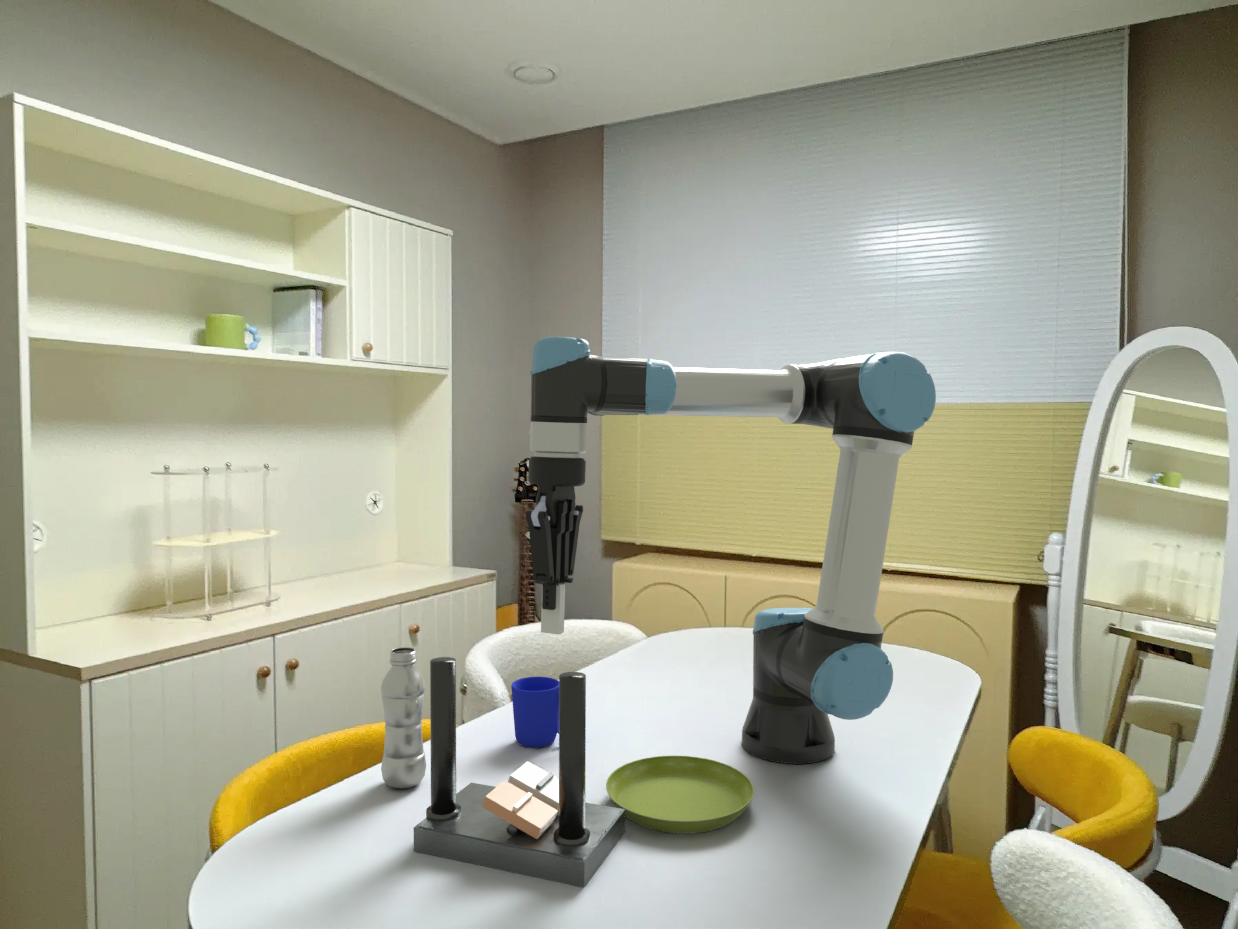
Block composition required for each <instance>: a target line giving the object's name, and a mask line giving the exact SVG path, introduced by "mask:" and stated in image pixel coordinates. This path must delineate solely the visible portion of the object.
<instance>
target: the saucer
mask: <svg viewBox="0 0 1238 929" xmlns="http://www.w3.org/2000/svg"><path fill="white" fill-rule="evenodd" d="M605 788H606V792H607V794H608V796H609V798H610V800H611V802H612V803H613V804H614V805H615V808H621V809H625V817H626V818H628V819H629V820H631V821H632V822H634V823H636V824H637V825H639V826H642V827H644V828H647V829H649V830H653V831H658V832H663V833H668V834H681V835H682V834H687V835H688V834H699V833H705V832H710V831H714V830H716V829H719V828H723V827H724V826H726V825H728V824H730V823H732V822H733V821H734V820H736V819H737V818H738V817H740V815H741V814H743V812H744V811H745V810H746V809H747V808H748V806H749V805H750V803H751V802H752V801H753V800H752V799H753V798H754V796H755V788H754V784H753V782H752V781H751V780H750V778H749V777H748V776H747V775H746V774H745V773H743V772H742V771H740V770H738V769H737V768H735V767H733V766H731V765H730V764H729V765H728V764H726V763H724V762H722V761H721V762H720V761H717V760H714V759H709V758H706V757H704V758H703V757H699V756H690V755H658V756H657V755H656V756H651V757H645V758H640V759H636V760H633V761H630V762H627V763H625V764H622V765H621V766H619V767H618V768H616V769H615V770H613V771H612V772H611V773H610V775H609V776H608V777H607V779H606V783H605Z"/></svg>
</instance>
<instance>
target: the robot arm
mask: <svg viewBox="0 0 1238 929" xmlns="http://www.w3.org/2000/svg"><path fill="white" fill-rule="evenodd" d="M591 353H592V352H591V349H590V344H589V341H587V340H586V339H584V338H581V337H580V338H579V337H578V338H577V337H574V336H573V337H572V336H569V337H568V336H545V337H541V338H540V339H537V341H535V343H534V344H533V350H532V359H531V360H532V362H531V370H530V375H531V379H530V384H531V385H530V387H531V388H530V424H529V425H530V429H528V433H527V434H528V435H529V451H530V452H531V453H533V456H530V458H529V459H528V478H527V479H528V483H529V484H531V485H534V486H536V487H538V489H537V494H536V497H535V504H536V506H535V507H534V510H531V509H529V510H527V511H526V512H525V519H526V522H527V527H528V529H529V540H530V543H529V544H530V553H531V554H530V555H531V565H532V576H533V582H534V584H538V585H539V584H540V585H541V609H540V610H541V614H540V615H541V616H540V633H543V634H544V633H545V634H552V635H561V634H563V633H565V612H566V610H565V609H566V608H565V607H566V584H567V583H568V584H572V583H573V580H574V578H573V575H574V573H575V571H574V570H575V564H576V556H577V555H576V554H577V549H578V547H577V546H578V540H579V533H580V532H579V531H580V526H581V525H580V524H581V520H582V517H583V512H584V507H583V506H584V505H581V504H576V498H577V497H576V492H575V490H576V489H575V487H582V486H584V485H585V483H586V470H587V469H586V468H587V467H586V466H587V465H586V464H587V463H586V462H587V460H585V458H584V457H583V455H584V454H586V453H587V450H588V448H587V447H588V445H587V443H588V442H587V440H588V414H590V415H592V416H596V417H598V416H600V417H601V416H674V417H675V416H680V417H682V416H683V417H690V416H691V417H732V418H734V417H738V418H739V417H740V418H741V417H743V418H747V417H748V418H778V419H779V420H780V421H781V422H782V423H784V424H787V425H791V424H793V425H795V424H796V425H807V426H814V427H820V428H826V429H831V430H832V429H833V430H832V434H831V438H832V440H833V441H834V442H835V444H836V445H837V447H838V448H839V458H838V464H837V470H836V477H835V483H834V490H833V497H832V502H831V508H830V509H831V510H830V517H829V520H828V528H827V534H826V535H827V536H826V541H825V548H824V554H823V561H822V567H821V574H820V580H819V586H818V593H817V600H816V605H815V606H814V607H776V608H766V609H761V610H760V611H758V612H757V613H756V614H755V616H754V623H753V630H752V635H753V649H752V650H753V654H752V656H753V658H752V659H753V661H752V662H753V665H752V666H753V667H752V671H753V673H752V674H753V675H752V677H753V678H752V680H753V681H752V686H753V688H752V700H751V703H750V706H749V708H748V712H747V715H746V716H745V717H746V718H745V720H744V724H743V726H742V728H741V729H742V730H741V745H742V747H743V749H744V750H746V751H747V752H748V753H749V754H751V755H754V756H755V757H758V758H761V759H764V760H767V761H771V762H777V763H783V764H792V765H793V764H794V765H795V764H798V765H799V764H802V765H803V764H812V763H819V762H822V761H824V760H825V761H826V760H827V759H829V758H831V757H832V756H833V755H834V754H835V750H836V749H835V747H836V746H835V745H836V743H835V741H836V739H835V733H834V730H833V726H832V724H831V721H830V716H829V715H831V716H833V717H836V718H838V719H841V720H845V721H853V720H859V719H863V718H865V717H867V716H870V715H871V714H872V713H873V711H874V710H876V709H879V708H880V707H881V706H882V705H883V703H884V702H885V701H886V699H887V698H888V696H889V694H890V693H891V689H892V686H893V681H894V669H893V665H892V662H891V661H890V660H889V657H888V655H887V654H886V652H885V651H883V649H882V643H883V637H884V627H883V626H882V625H881V624H880V622H879V621H878V620H877V617H876V611H877V605H878V599H879V598H878V597H879V593H880V585H881V580H882V573H883V567H884V560H885V553H886V545H887V542H888V541H887V540H888V533H889V528H890V521H891V514H892V507H893V500H894V494H895V488H896V481H897V474H898V468H899V463H900V462H899V461H900V458H901V457H902V456H903V455H904V454H906V453H907V452H908V451H910V450H912V448H913V441H914V435H915V431H917V430H918V429H920V428H921V427H924V425H925V423H926V422H929V420H930V419H931V417H932V415H933V413H934V410H935V406H936V398H937V393H936V386H935V383H934V380H933V377H932V375H931V373H930V372H929V371H928V370H927V368H926V367H925V365H924V364H923V362H921V361H920V360H919V359H918V358H916V357H914V356H913V355H911V354H908V353H905V352H901V351H900V352H899V351H878V352H874V353H872V354H863V355H857V356H856V355H855V356H850V357H847V356H846V357H841V358H835V359H831V360H826V361H821V362H815V363H806V364H786V365H784V366H783V367H781V369H780V370H774V369H747V368H746V369H743V368H742V369H741V368H711V367H710V368H709V367H708V368H707V367H684V366H683V367H678V366H677V367H676V366H674V367H673V365H672V364H671V363H670V362H668V361H667V360H660V359H659V360H657V359H652V358H650V357H648V358H639V357H638V358H635V357H614V356H613V357H612V356H601V355H600V356H599V355H596V354H591ZM570 576H571V577H570Z"/></svg>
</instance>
